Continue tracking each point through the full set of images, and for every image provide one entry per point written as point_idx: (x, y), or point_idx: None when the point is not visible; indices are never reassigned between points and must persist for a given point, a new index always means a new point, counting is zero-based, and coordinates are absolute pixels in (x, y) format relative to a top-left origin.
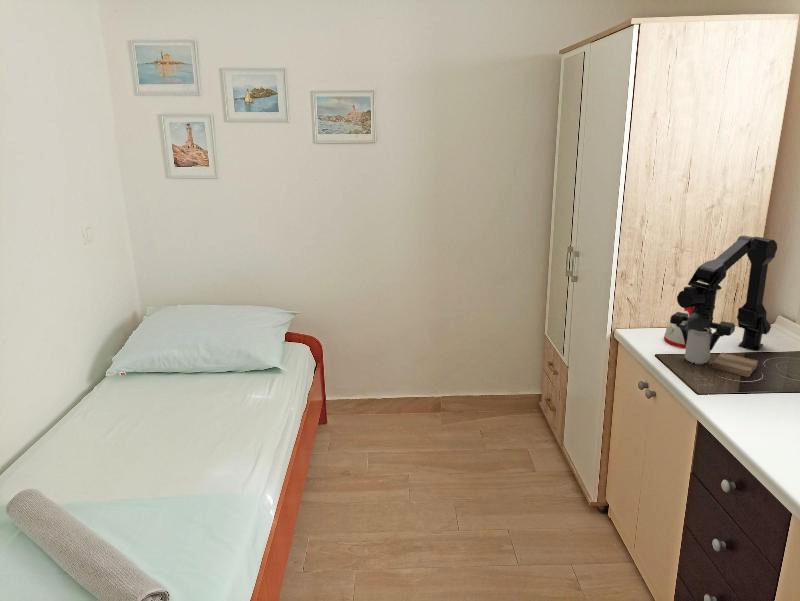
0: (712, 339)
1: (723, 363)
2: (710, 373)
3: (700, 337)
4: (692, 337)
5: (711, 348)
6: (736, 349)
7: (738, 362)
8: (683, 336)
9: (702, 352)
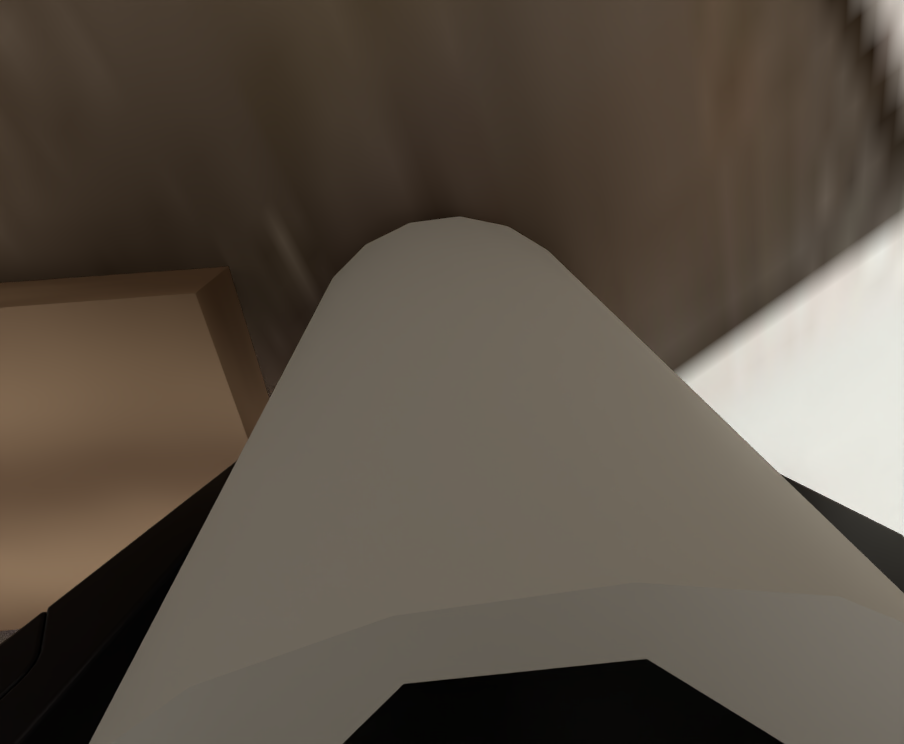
0: (37, 702)
1: (83, 359)
2: (108, 43)
3: (344, 564)
4: (701, 465)
5: (213, 481)
6: None
7: (21, 498)
8: (864, 520)
9: (327, 320)
